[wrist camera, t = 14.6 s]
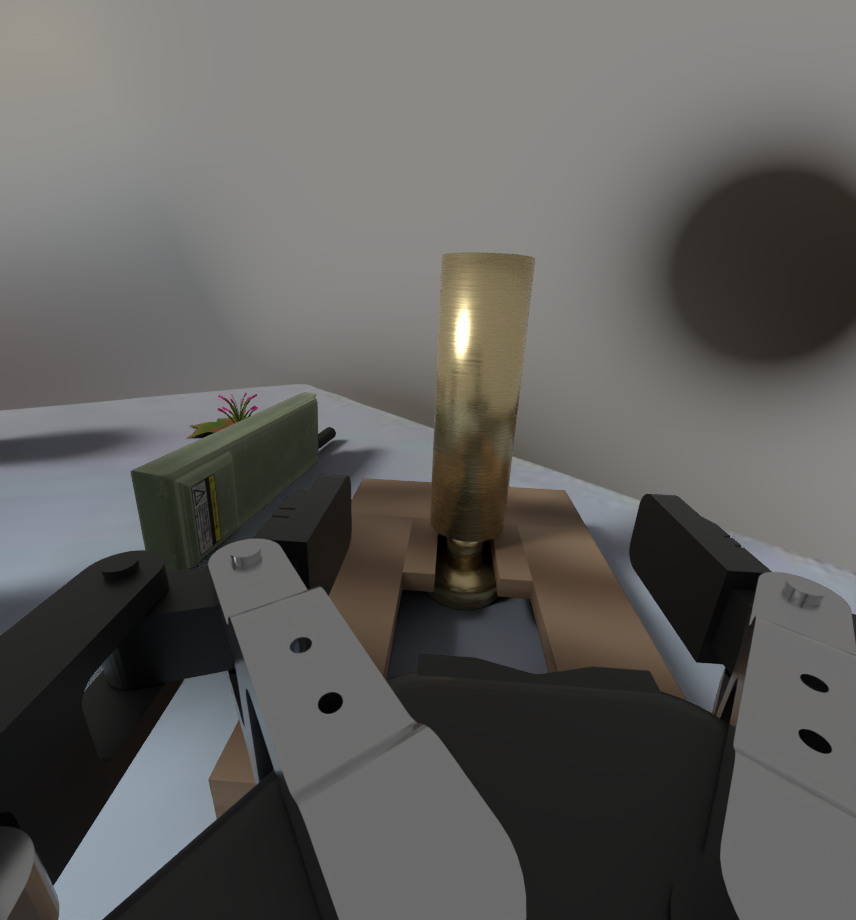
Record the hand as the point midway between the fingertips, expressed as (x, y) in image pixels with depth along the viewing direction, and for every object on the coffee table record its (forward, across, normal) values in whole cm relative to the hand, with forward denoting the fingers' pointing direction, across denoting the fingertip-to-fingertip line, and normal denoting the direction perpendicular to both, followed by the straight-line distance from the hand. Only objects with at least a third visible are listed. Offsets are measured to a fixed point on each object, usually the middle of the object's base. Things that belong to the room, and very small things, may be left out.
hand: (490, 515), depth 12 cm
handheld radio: (+21, +16, +10) cm, 28 cm away
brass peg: (+10, 0, +10) cm, 14 cm away
